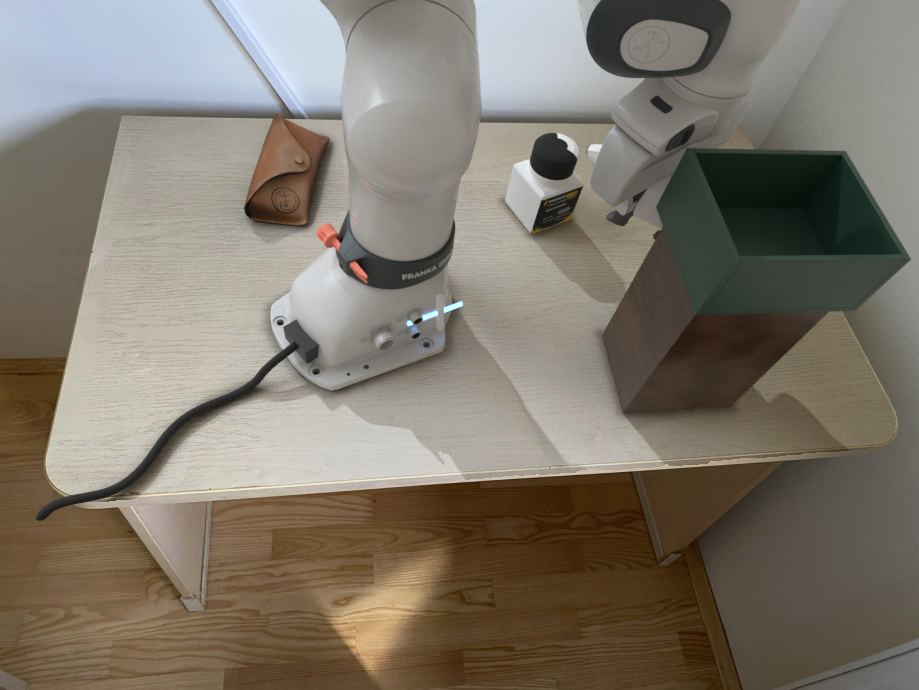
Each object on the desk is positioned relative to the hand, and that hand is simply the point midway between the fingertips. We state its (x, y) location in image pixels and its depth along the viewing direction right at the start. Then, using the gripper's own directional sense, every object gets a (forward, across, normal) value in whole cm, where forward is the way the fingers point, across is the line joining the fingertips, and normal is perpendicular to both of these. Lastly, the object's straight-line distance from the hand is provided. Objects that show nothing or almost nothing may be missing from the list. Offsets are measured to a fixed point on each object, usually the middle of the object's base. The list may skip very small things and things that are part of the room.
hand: (646, 195), depth 76 cm
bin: (-6, +4, +15) cm, 16 cm away
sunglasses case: (+15, +26, -38) cm, 48 cm away
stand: (+16, +4, +15) cm, 22 cm away
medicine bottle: (+16, 0, -14) cm, 21 cm away
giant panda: (+4, 0, 0) cm, 4 cm away
